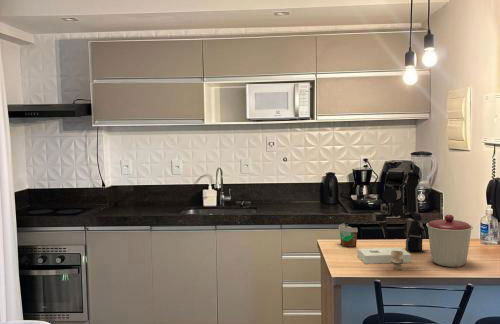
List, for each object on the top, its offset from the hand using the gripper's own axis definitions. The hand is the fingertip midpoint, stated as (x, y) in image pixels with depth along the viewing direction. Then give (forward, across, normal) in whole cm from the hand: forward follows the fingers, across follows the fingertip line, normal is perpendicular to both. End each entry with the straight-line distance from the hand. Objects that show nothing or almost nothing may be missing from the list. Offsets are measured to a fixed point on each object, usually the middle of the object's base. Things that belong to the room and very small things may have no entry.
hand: (396, 237), depth 185 cm
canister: (+13, -24, -5) cm, 28 cm away
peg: (+13, 0, 0) cm, 13 cm away
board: (+13, +1, -14) cm, 19 cm away
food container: (+13, +12, -39) cm, 43 cm away
